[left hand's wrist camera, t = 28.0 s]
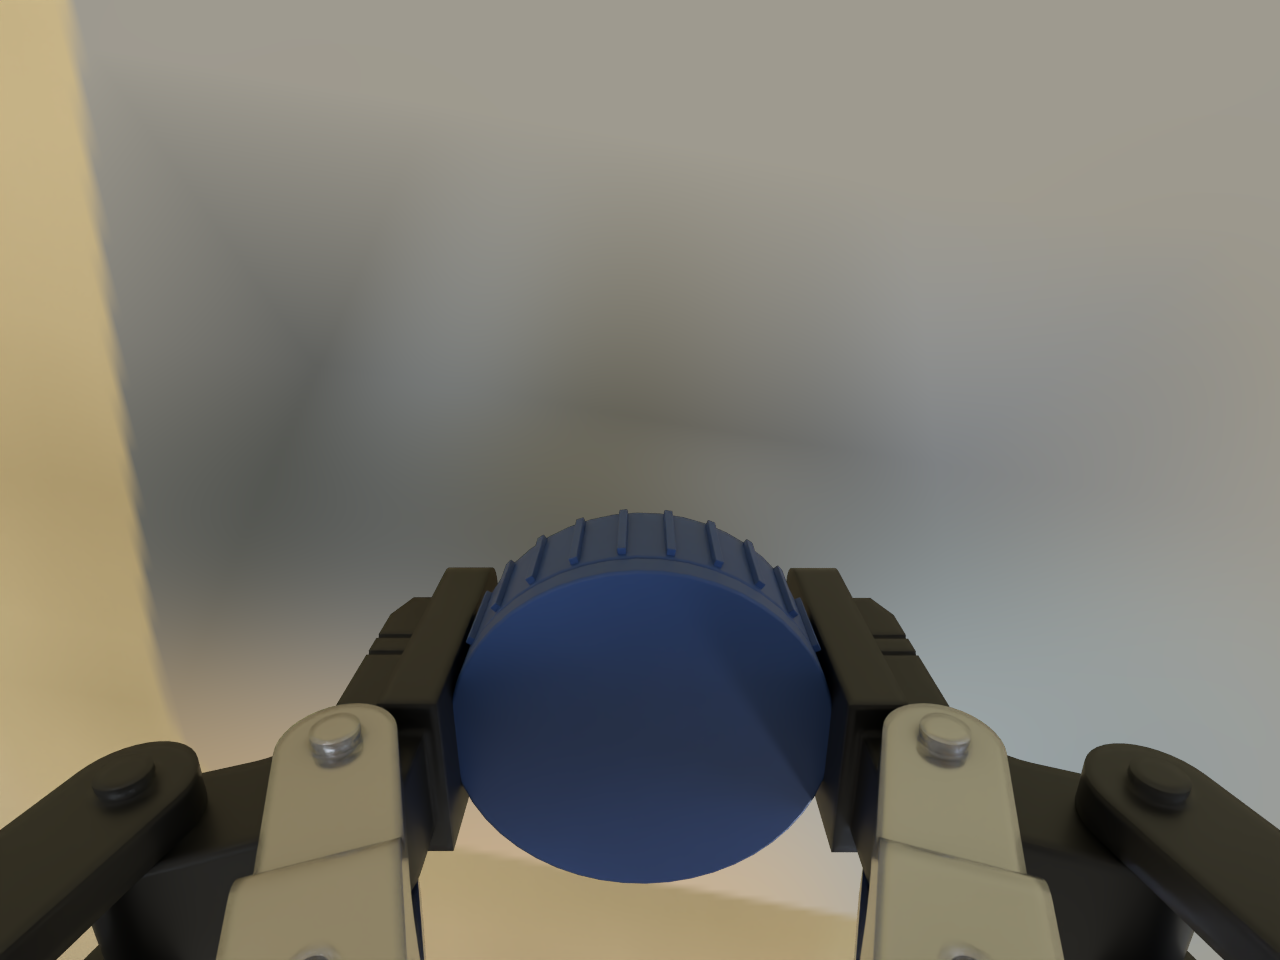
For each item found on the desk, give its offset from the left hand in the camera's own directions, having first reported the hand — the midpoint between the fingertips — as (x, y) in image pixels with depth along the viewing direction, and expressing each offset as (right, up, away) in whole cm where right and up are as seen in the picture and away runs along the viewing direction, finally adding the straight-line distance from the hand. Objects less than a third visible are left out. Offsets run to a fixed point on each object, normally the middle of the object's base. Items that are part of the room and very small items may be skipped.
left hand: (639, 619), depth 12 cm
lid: (0, -1, -2) cm, 3 cm away
